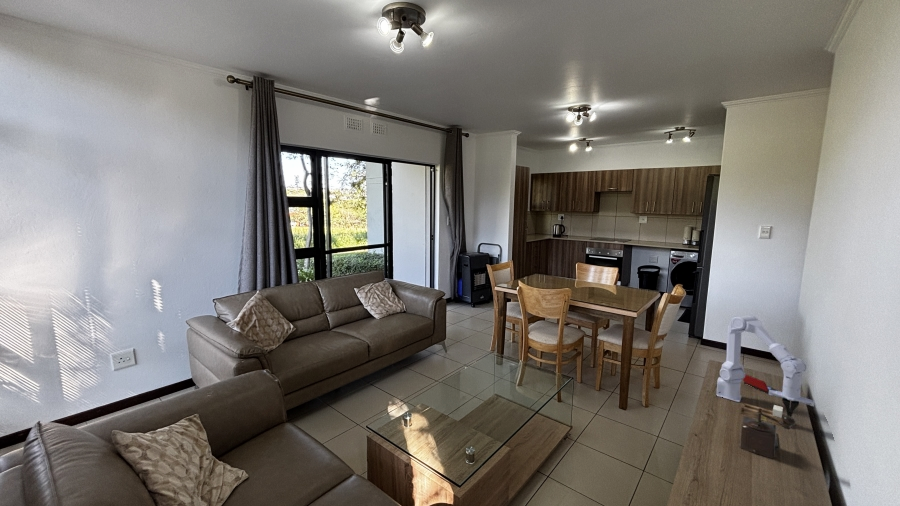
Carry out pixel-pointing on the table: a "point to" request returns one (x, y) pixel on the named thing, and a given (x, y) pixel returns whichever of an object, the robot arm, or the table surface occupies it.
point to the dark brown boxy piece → (761, 434)
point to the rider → (777, 411)
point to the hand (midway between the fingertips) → (789, 415)
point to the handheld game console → (757, 384)
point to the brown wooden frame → (753, 410)
